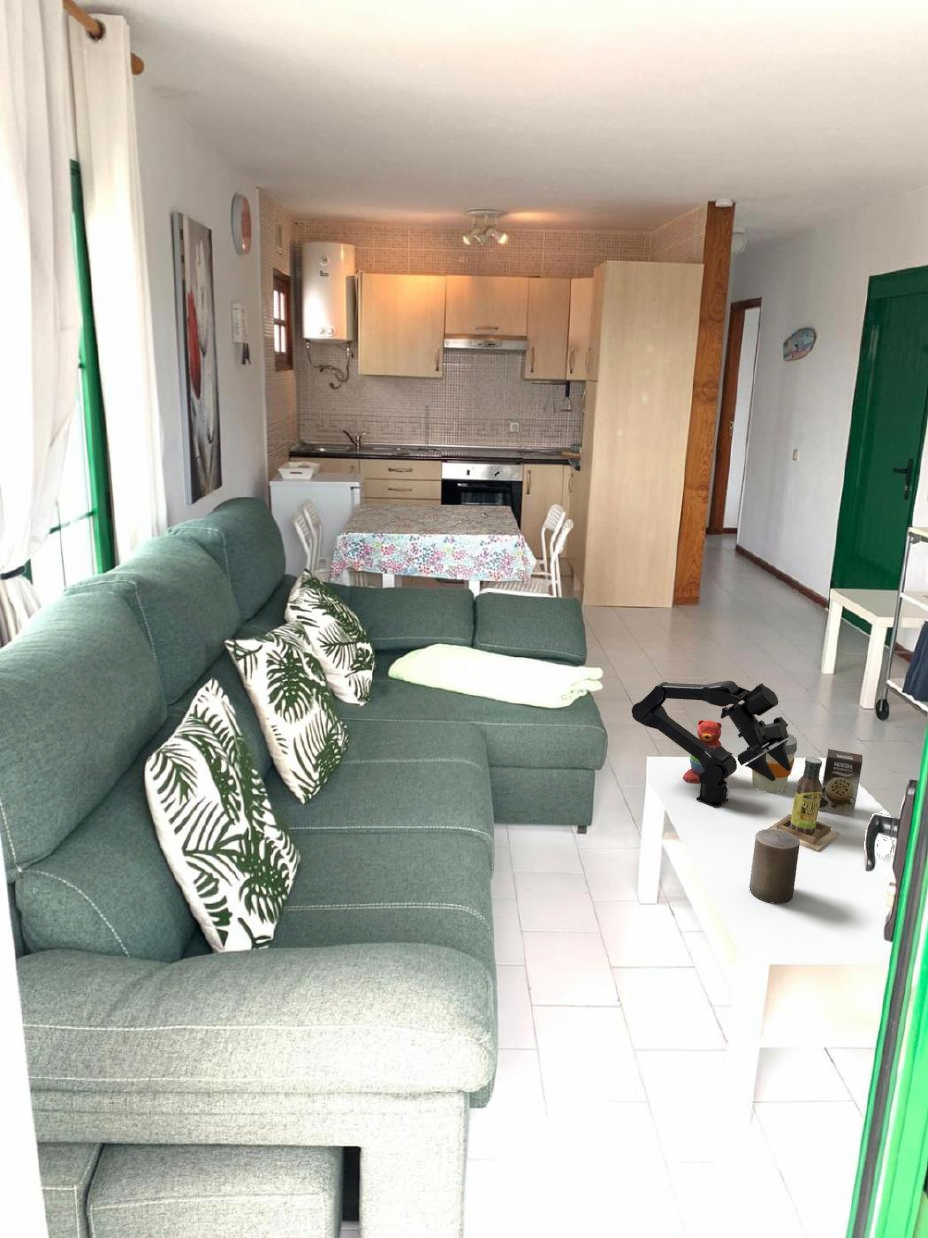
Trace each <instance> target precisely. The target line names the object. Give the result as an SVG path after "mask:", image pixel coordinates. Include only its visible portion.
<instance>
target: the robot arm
mask: <svg viewBox="0 0 928 1238" xmlns="http://www.w3.org/2000/svg"><path fill="white" fill-rule="evenodd" d="M667 699H673V700H674V699H675V700H687V701H688V700H689V701H690V700H691V701H703V702H706V703H707V704H710V705H713V706H717V707H723V708H721V714H720V719H725V718H727V717H728V718H729V719H730V720H731V721H732V723H733V724H734V726H735V728H736V729H737V730H738V734H737V736H738V738H739V739H740V738H743V740H744V741H745V742H746V744H747V747H746V750H744V751H742V752H740V753H739V754H737V759H736V758H735V757H734V756H733V753H732V752H730V751H729V750H727V749H726V748H725V747H724V746H723V745H722V746H718V747H717V748H712V747H709V746H708V745H706V744H705V743H704V742H702V741H701V740H700V739H698V738H699V737H698V736H696V735H694V734H693V733H692V732H690V731H689V730H688V729H686V728H685V727H683V726H682V725H681V724H679V722H677V721H675V720H674V719H673V718H671V717H670V716H669V715H668V713H667V711H666V709H665V707H664V706H663V705H664V703H666V700H667ZM742 701H743V702H742ZM740 702H742V703H740ZM729 705H731V706H729ZM778 705H779V699H778V697H777V695H776V693H775V692H774V690H772V689H771V688H770V687H767V686H765V684H764V683H760V684H758V685H756V686H755V687H754V688H753V689H752V690H749V689H746V688H744V687H741V686H739V685H738V684H737V683H736V682H735V681H732V680H723V681H717V682H712V683H708V684H701V683H699V684H698V683H697V684H696V683H679V682H678V683H677V682H676V683H675V682H667V681H663V682H660V683H659V684H657V685H655V686H654V687H653V689H652V690H651V691H650V692H649V693H648V694H647V695H646V696H645V697H644V698H643V699H642V700H640V701H639V702H636V703H634V705H633V706H632V708H631V714H632V718H633V720H635V721H636V722H638V723H639V724H641V725H643V726H644V727H648V728H652V729H655V730H658V731H659V732H660V733H662V734H663V735H664V736H666V738H669V739H670V740H671V741H672V742H674V743H675V744H676V745H677V746H678V747H680V748H681V749H683V750H684V751H685V752H687V753H688V754H689V755H690V754H691V755H692V756H694V757H695V758H696V759H698V760H699V762H700V764H701V766H702V767H703V769H704V771H703V772H702V773H701V774H699V775H698V776H699V780H700V782H701V784H699V787H700V788H699V795H698V796H697V797H696V798H695V800H696V801H698V802H701V803H704V804H705V805H709V806H711V807H713V808H719V807H720V806H722V805H723V804H725V803H727V802H728V800H729V798H728V790H729V788H728V786H727V785H728V781H726V779H728V778H729V777H730V776H732V775H733V774H734V773H735V772H736V771H737V769H738V764H737V761H738V763H739V765H740V766H743V765H744V767H745V768H747V767H748V768H749V769H751V770H752V769H753V770H754V771H756V772H758V773H760V774H761V775H763V776H764V777H766V778H767V779H769V780H771V781H775V780H776V778H775V776H774V774H773V772H772V771H771V769H770V767H769V765H768V763H767V762H766V753H765V754H762V753H763V752H764V751H763V750H765V749H767V750H768V749H770V750H769V751H768V752H767V753H768V754H769V755H770V756H771V757H772V758H773V759H775V760H776V761H777V762H778V763H779V764H780V765H781V766H782V767H783V768H784V769H786V770H787V771H789V770H791V766H790V763H789V760H788V757H787V753H786V749H785V748H786V744H787V742H788V740H786V741H784V742H783V740H785V739H786V738H788V737H789V736H788V735H787V733H788V728H787V727H789V723H787V722H786V720H785V719H784V718H783V717H782V716H778V717H775V718H774V719H773V722H770V723H767V724H766V722H765V721H764V720H762V719H760V720H758V718H757V716H759V717H760V716H762V715H763V714H766V713H767V712H768V711H770V710H772V709H774V708H775V707H776V706H778ZM727 706H729V707H727Z"/></svg>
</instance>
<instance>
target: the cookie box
mask: <svg viewBox="0 0 928 1238" xmlns="http://www.w3.org/2000/svg"><path fill="white" fill-rule="evenodd" d="M826 752H827V753H826V758H825V763H824V764H825V765H824V770H823V778H822V781H821V785H822V790H821V792H822V793H821V799H820V804H819V811H818V812H824V813H830V814H834V815H840V816H845V817H850V818H854V816H855V809H856V803H857V797H858V793H859V785H860V780H861V773H862V772H861V771H862V766H863V755H862V754H860V753H859V754H858V753H853V752H848V751H841V750H836V749H831V748H828V749H827V751H826Z"/></svg>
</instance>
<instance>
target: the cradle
mask: <svg viewBox="0 0 928 1238" xmlns="http://www.w3.org/2000/svg"><path fill="white" fill-rule="evenodd" d="M791 815H792V813H791V814H790V813H788V814H787V815H786V816H784V817H783V818H782V819H780V820H779V821H778V820H777V822H775V823H773V825H770V826H769V827H767V829H778V830H783V831H786V832H789V833H791V834H793V835H795V836H796V837H797V838H798V839H799V841H800V846H802V847H805V848H806V849H807V848H808V849H810V850H812V851H815V852H819V851H821V850H822V849H823V848H825V847H826V846H827V845H828V844H831V842H833V841H834V840H835V839H837V838H838V837H839V836H841V832H840V831H838V830H835V829H832V826H831V825H828V824H826V823H823V822H820V821H817V822H816V827H815V831H814V833H813V834H810V835H807V834H804V833H801V832H799V831H796V830H793V829H791V828H790V824H791Z"/></svg>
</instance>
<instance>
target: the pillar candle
mask: <svg viewBox="0 0 928 1238" xmlns="http://www.w3.org/2000/svg"><path fill="white" fill-rule="evenodd" d="M754 835H755V838H754V846H753V855H752V862H751V863H752V864H751V870H750V872H751V873H750V878H749V886H748V887H749V888H750V890H749V892H750V891H751V892H750V893H751V894H752V895H753V896H754V895H755V896H757V897H758V898H757V897H756V898H757V899H759V898H761V899H760V900H762V901H764V900H765V901H764V902H766V901H767V902H766V903H771V902H774V903H773V904H784V903H789V902H790V901H791V900H792V899H794V898H793V897H794V892H795V891H794V890H795V883H796V878H797V877H796V875H797V868H798V861H799V860H798V859H799V851H800V846H801V845H800V841H799V839H798V838H797V837H796V836H795V835H793V834H791V833H789V832H786V831H783V830H778V829H768V828H766V829H765V828H764V829H761V830H758V831H757V832H756V833H755V834H754ZM755 896H754V897H755Z"/></svg>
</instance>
